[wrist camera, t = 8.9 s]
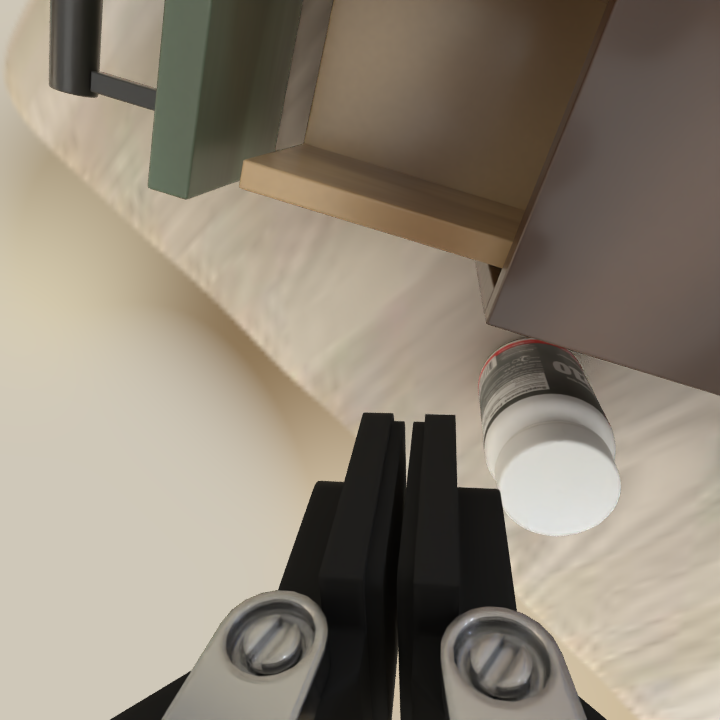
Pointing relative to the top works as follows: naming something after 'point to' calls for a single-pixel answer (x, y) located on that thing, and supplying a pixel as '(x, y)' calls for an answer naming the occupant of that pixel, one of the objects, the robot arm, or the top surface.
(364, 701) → the robot arm
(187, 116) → the drawer
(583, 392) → the pill bottle
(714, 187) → the cabinet
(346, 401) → the top surface
